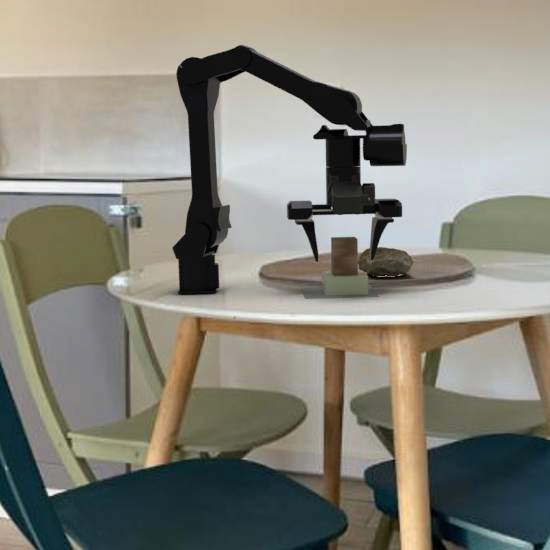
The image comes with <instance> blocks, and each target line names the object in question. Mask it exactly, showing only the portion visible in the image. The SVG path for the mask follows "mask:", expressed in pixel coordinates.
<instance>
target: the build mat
mask: <svg viewBox="0 0 550 550" xmlns="http://www.w3.org/2000/svg"><path fill="white" fill-rule="evenodd" d="M300 288H301V291H302V293H303V297H304V298H305V300H311V299H312V300H313V299H345V298H348V299H349V298H353V299H354V298H379V297H380V295H379V294H378V293H377V292H376V291H375V290H374V289H373V287H372V286H371V285H370V284H368V294H361V295H325V293H324V291H323V289H322V286H305V287H304V286H303V287H302V286H301V287H300Z"/></svg>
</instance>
